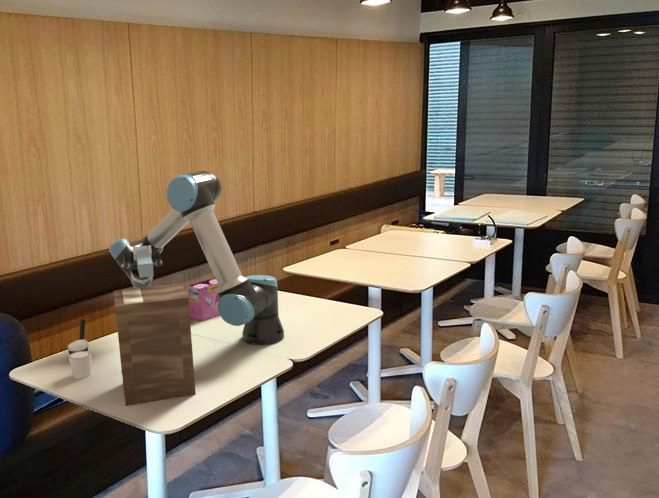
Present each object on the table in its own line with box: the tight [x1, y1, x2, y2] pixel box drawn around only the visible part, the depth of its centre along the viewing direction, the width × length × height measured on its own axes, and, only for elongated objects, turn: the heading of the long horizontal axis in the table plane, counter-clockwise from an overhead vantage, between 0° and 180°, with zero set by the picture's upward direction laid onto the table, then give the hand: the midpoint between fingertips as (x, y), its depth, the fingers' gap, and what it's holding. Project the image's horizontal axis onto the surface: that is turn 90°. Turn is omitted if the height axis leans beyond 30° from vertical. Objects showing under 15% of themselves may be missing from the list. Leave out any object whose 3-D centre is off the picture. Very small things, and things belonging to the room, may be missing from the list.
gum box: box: [187, 277, 220, 322], centre depth 267 cm, size 24×8×14 cm, turn 141°
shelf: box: [113, 283, 197, 407], centre depth 195 cm, size 16×20×30 cm
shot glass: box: [68, 350, 93, 380], centre depth 209 cm, size 7×7×7 cm
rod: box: [136, 246, 154, 278], centre depth 204 cm, size 25×4×4 cm, turn 19°
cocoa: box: [67, 319, 89, 355], centre depth 223 cm, size 10×6×12 cm, turn 148°
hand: (142, 249), depth 207 cm, fingers closed on rod, 4 cm apart
